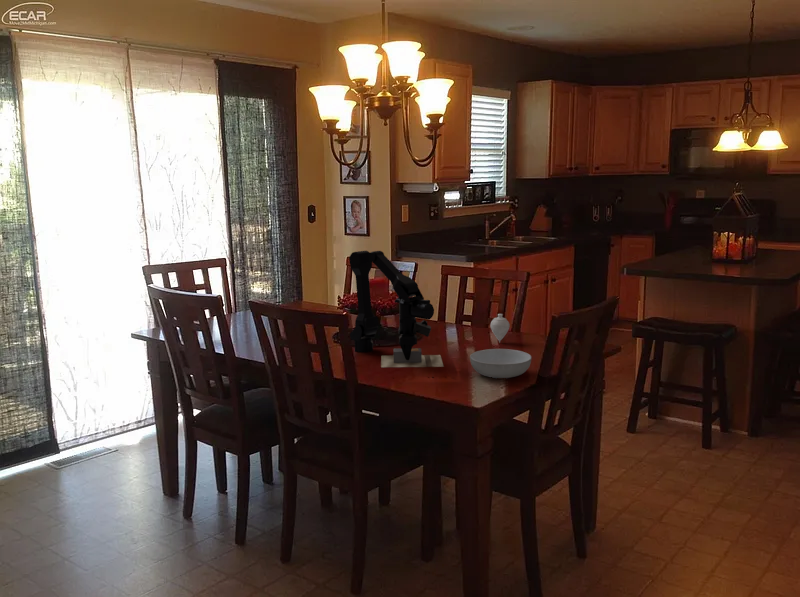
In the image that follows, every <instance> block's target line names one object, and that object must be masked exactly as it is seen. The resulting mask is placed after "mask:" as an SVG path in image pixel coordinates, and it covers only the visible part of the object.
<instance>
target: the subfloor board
mask: <svg viewBox="0 0 800 597" xmlns="http://www.w3.org/2000/svg"><path fill="white" fill-rule="evenodd" d="M380 367H381V368H440V367H441V368H443V367H445V366H444V363H443V359H442V356H441V354H424V355H423V354H422V362H419V363H394V354H392V355H381V360H380Z"/></svg>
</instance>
